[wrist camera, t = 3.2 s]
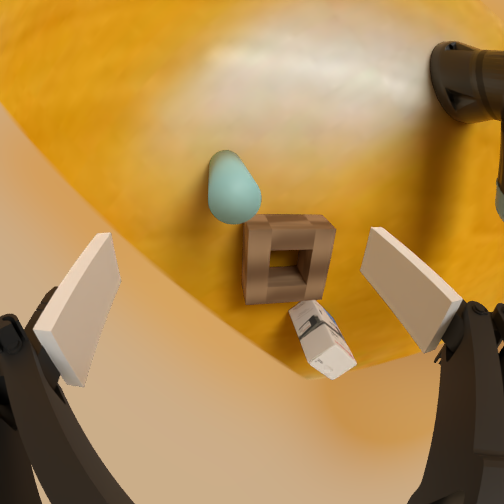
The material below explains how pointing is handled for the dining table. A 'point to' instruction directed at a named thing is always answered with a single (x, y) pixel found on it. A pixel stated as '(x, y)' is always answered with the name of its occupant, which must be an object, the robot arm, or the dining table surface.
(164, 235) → the dining table surface
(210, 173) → the peg
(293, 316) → the ink box
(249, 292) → the socket block
